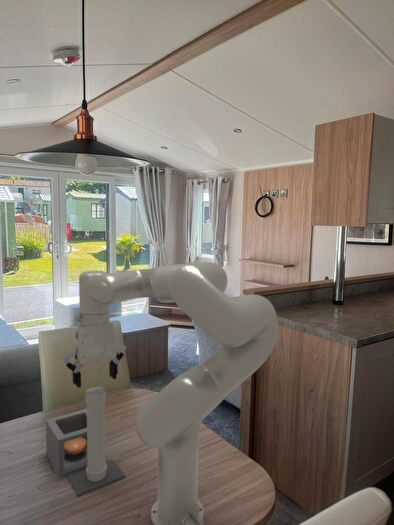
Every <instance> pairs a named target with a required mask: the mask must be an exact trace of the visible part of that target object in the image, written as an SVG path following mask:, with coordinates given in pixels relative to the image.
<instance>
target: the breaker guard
mask: <svg viewBox="0 0 394 525" xmlns="http://www.w3.org/2000/svg"><path fill="white" fill-rule="evenodd" d="M79 437H82V438H85V439H86V449H85V450H84V451H83V452H81V453H79V454H77V455H72V454H67V453H65V452H64V442H66V441H70V440H73V439H76V438H79ZM45 439H46V440H45V441H46V442H45V444H46V456H47V459H48V461H49V462H50V464H51V466H52V468H53V471H54V472H55V474H56V476H57V478H58V479H60V480H61V479H62V478H65V477H67V475H69V474H71V473H74V472H77V471H80V470H82V469H85V468H86V467H87V408H83V409H80V410H77V411H72V412H69V413H66V414H62V415H59V416H53V417H51V418H46V419H45Z"/></svg>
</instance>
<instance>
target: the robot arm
mask: <svg viewBox="0 0 394 525" xmlns="http://www.w3.org/2000/svg"><path fill="white" fill-rule="evenodd" d="M227 286H228V276H227V272H226V271H225V269H224V268H223V267H222V266H221V265H220V264H217V263H215V262H212V261H198V262H189V263H188V262H187V263H181V264H180V263H178V264H170V265H167V264H166V265H160V266H157V267H155V268H154V267H152V268H144V269H133V270H125V271H118V272H116V271H115V272H112V273H108V272H106V271H103V270H87V271H83V272H81V273H80V274H79V277H78V287H79V288H78V290H79V292H78V294H79V295H78V296H79V312H78V315H77V316H74V318H73V320H74V322H77V323H78V324H77V326H76V332H75V337H74V339H75V340H74V347H73V348H72V349H70V350H69V351H68V352H66V353H65V354H63V355H62V356H61V360H62V362H63V363H64V364H65V367H67V369H69V370H70V371H72V383H73V385H75V386H76V387H77V388H78V389H80V388H81V387H82V377H81V376H82V373H81V371H80V370H81V369H82V367H83V366H90V365H95V364H99V363H104V362H109V364H108V366H109V369H108V370H109V377H110V378H112V379H113V380H116V379H117V375H118V372H119V371H118V369H119V368H118V365H119V363H120V361H121V360H122V358H123V357H124V356H125V355H124V354H125V352H126V349H127V346H126V345H125V344H123V343H121V342H118V341H117V338H116V337H117V336H116V332H115V331H116V330H115V326H114V322H113V321H111V320H110V317H111V316H110V310H111V309H110V305H115V304H121V303H123V302H127V301H132V300H136V299H141V298H142V299H143V298H155V299H156V300H157V301H158V302H159V303H163V304H165V303H166V304H167V303H175V304H176V306H177V307H179V309H180V310H181V311H182V312H183V313H184V314H186V315H187V316H188V317H189V318H190V319H191V320H192V321H193V322H194V323H195V324H196V325H197V326H199V327H200V329H202V330H203V332H205V333H206V334H207V335H208V336H209V337H210V338H211V339H212V340H214V341H215V342H216V343H218V344H220V345H221V346H220V347H218V349H216V350H215V351H214V352H213V353H212V354H211V355H210V356H208V357H207V358H206V359H205V360H204V361H202V362H200V363H199V364H196V365H194V366H192V367H191V368H189V369H188V370H186V371H185V372H182V373H181V374H180V375H179V376H176V377H175V378H174V379H173V380H171V381H170V382H168V384H167V385H165V386H164V387H163V388H162V389H161V390H160V391H158V392H157V393H156V394H155V395H154V396H153V397H152V398H151V399H150V400H148V401H147V403H145V404H144V405H143V406H142V407H141V408H140V409H139V411H138V413H137V416H136V420H135V430H136V434H137V437H138V439H139V440H140V441H141V442H142V443H143V444H144V445H145V446H147V447H148V448H151V449H155V450H156V449H157V451H158V452H157V500H156V501H155V502H154V504H153V505H152V507H151V509H150V510H151V511H150V520H151V522H152V524H153V525H205V521H204V518H205V517H204V516H205V510H204V506H203V504H202V502H201V501H200V500H199V498H198V497H199V493H198V492H199V452H200V450H199V449H200V434H201V427H202V423H203V422H202V421H203V419H205V418H206V417H207V416H208V415H209V414H210V413H211V412H212V411H214V410H215V409H216V408H217V407H218V406H219V405H220V404H221V403H222V402H223V401H224V400H225V398H226V397H227V396H228V395H229V394H230V393H232V392H233V391H234V390H235V389H236V388H238V387H239V386H241V384H242V383H244V382H245V381H246V380H247V379H249V378H250V377H251V376H252V375H253V374H254V373H255V372H256V371H257V370H259V368H260V367H262V366H263V364H264V363H265V362H266V360H267V359H268V358H269V356H270V355H271V354H272V351H273V349H274V348H275V345H276V341H277V338H278V334H279V323H278V322H279V321H278V317H277V312H276V310H275V307H274V305H273V304H272V302H271V301H270V300H269V299H267V298H266V297H265V296H262V295H259V294H246V295H241V296H240V297H237V298H234V299H231V298H229V297H228V295H226V294H225V293H224V292H225V291H226V289H227ZM117 350H118V351H117ZM72 357H74V359H75V360H74V362H73V363H72V362H71V361H70V359H71V358H72Z"/></svg>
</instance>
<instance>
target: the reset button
mask: <svg viewBox="0 0 394 525" xmlns="http://www.w3.org/2000/svg"><path fill="white" fill-rule="evenodd" d="M85 449H86V439H85V438H82V437H79V438H76V439H73V440H70V441H66V442H64V452H65V453H67V454H72V455H77V454H79V453H81V452H83V451H84V450H85Z"/></svg>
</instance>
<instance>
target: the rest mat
mask: <svg viewBox="0 0 394 525" xmlns="http://www.w3.org/2000/svg"><path fill="white" fill-rule="evenodd" d="M105 463H106V465H107V469H106V476H105V478H104V479H102V480H101V481H97V482H92V481H89V480H88V479H87V475H86V468H85V469H82V470H80V471H77V472H74V473H71V474H69V475H67V476H66V477H67V478H66V479H68V481H69V483H70V486H72V488H73V491H74V492H75V494H76V495H77V497H80V496H83V495H85V494H87V493H88V494H89V493H90V492H93V491H95V490H98V489H101V488H104V487H105V486H108V485H110V484H113V483H115V482H118V481H119V480H122V479H125V478H126V474H125V473H124V472H123V471H122V470H121V468H120V467H119V465H117V463H116V462H115V461H114V459H113V458H111V459H107V460H105Z"/></svg>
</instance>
